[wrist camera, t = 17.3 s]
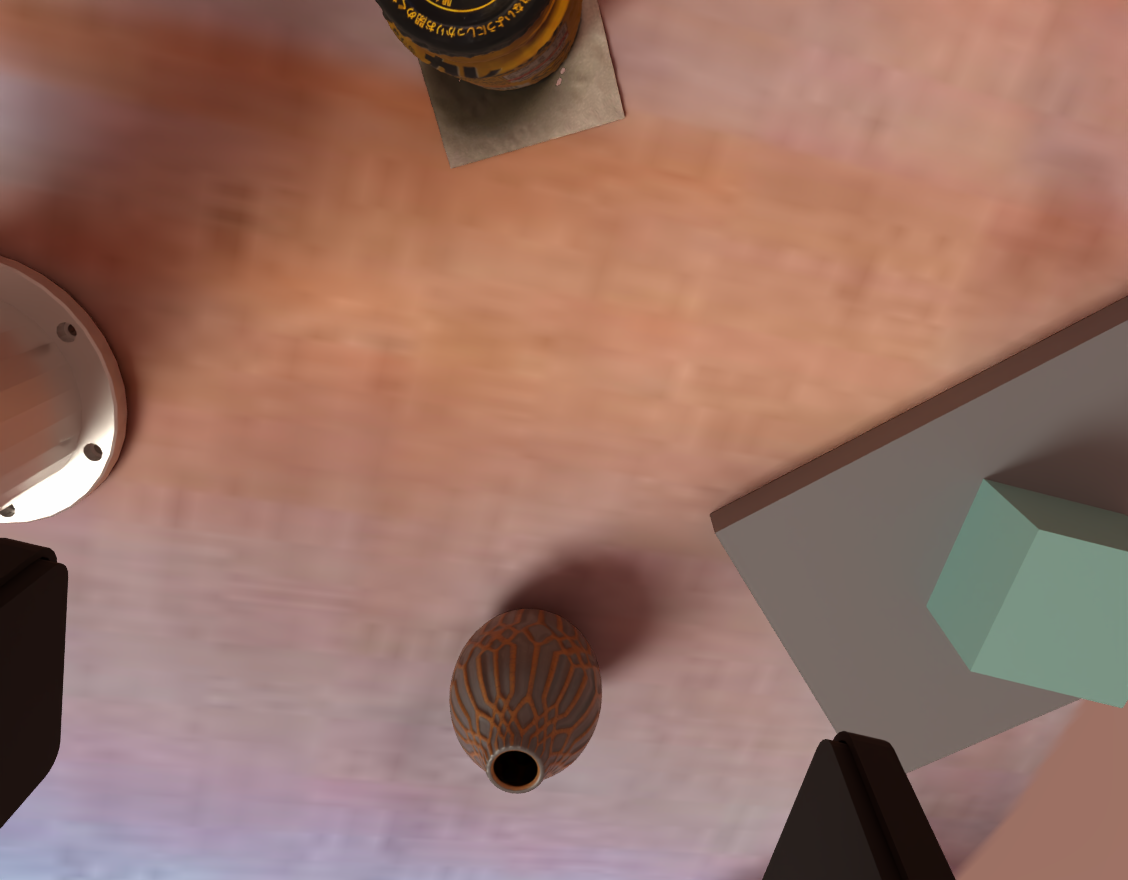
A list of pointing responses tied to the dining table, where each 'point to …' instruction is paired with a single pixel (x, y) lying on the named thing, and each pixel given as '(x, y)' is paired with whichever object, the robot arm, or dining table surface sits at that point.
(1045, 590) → the seafoam cuboid
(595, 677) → the vase
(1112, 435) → the post base
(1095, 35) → the dining table surface
